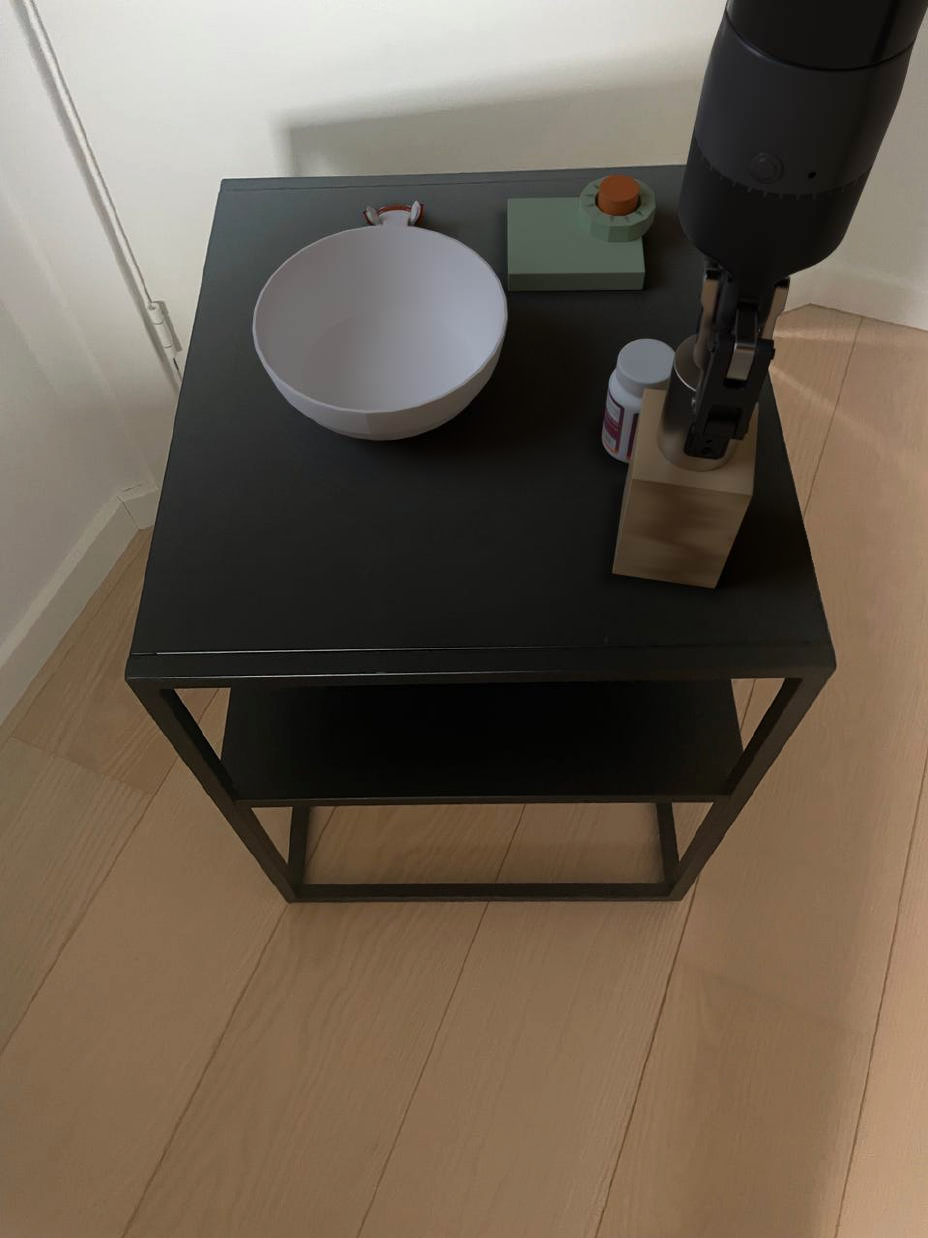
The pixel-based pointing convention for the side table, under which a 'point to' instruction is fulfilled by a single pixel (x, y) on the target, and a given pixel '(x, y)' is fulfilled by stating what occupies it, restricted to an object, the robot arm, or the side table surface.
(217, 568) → the side table surface
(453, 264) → the bowl
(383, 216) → the toy car
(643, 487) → the block
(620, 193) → the button
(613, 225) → the green board with knob
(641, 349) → the pill bottle
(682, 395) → the spice tin
